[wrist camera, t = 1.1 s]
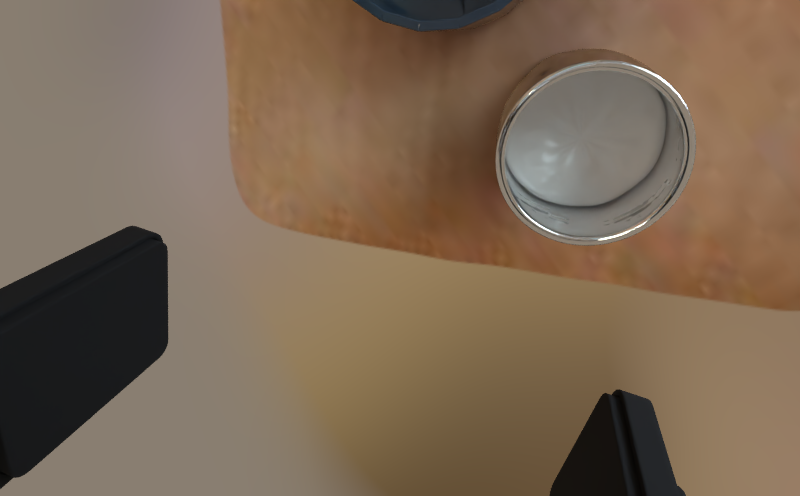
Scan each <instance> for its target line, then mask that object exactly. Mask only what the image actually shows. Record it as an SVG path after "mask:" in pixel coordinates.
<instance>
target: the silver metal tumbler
mask: <svg viewBox="0 0 800 496" xmlns="http://www.w3.org/2000/svg"><path fill="white" fill-rule="evenodd" d="M695 153H696V135H695V129H694V124H693V120H692V117H691V115H690V112H689V110H688V108H687V106H686V104H685V102H684V101H683V99H682V97H681V96H680V95H679V93H678V92H677V91H676V90H675V89H674V88H673V87H672V86H671V85H670V84H669V83H668V82H667V81H666V80H665V79H663V78H662V77H660V76H659V75H658V74H656V73H655V72H654V71H653V70H652V69H651V68H649V67H648V66H646V65H645V64H643V63H642V62H640V61H638V60H636V59H634V58H632V57H630V56H628V55H625V54H623V53H620V52H616V51H612V50H607V49H578V50H572V51H567V52H562V53H558V54H555V55H552V56H550V57H548V58H546V59H544V60H543V61H541V62H540V63H539V64H537V65H536V66H535V67H534V68H533V69H532V70H531V71H530V72H529V73H528V74H527V75H526V76H525V77H524V78H523V79H522V80H521V81H520V83H519V84H518V85H517V86H516V88H515V89H514V91H513V92H512V94H511V95H510V97H509V99H508V100H507V102H506V104H505V107H504V109H503V112H502V114H501V118H500V122H499V126H498V131H497V139H496V157H495V166H496V175H497V180H498V184H499V187H500V190H501V192H502V195H503V197H504V199H505V201H506V203H507V204H508V206H509V207H510V209H511V210H512V211H513V213H514V214H515V215H516V216H517V217H518V218H519V219H520V220H521V221H522V222H523V223H524V224H525V225H527V226H528V227H529V228H531V229H532V230H533V231H535V232H537V233H539V234H540V235H542V236H544V237H547V238H549V239H552V240H555V241H558V242H561V243H566V244H572V245H584V246H589V245H601V244H607V243H612V242H616V241H619V240H622V239H625V238H628V237H630V236H633V235H635V234H637V233H639V232H641V231H642V230H644V229H646V228H647V227H649V226H650V225H652V224H653V223H655V222H656V221H657V220H658V219H660V218H661V217H662V216H663V215H664V214H665V213H666V212H667V211H668V210H669V209H670V208H671V207H672V206H673V204H674V203H675V202H676V201H677V199H678V198H679V196H680V195H681V193H682V192H683V190H684V188H685V186H686V184H687V182H688V180H689V177H690V175H691V172H692V169H693V165H694V160H695Z"/></svg>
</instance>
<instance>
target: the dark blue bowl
mask: <svg viewBox="0 0 800 496" xmlns="http://www.w3.org/2000/svg"><path fill="white" fill-rule="evenodd" d="M353 1H354V2H356V3H357V4H358V5H360V6H361V7H363V8H364V9H365V10H367V11H368V12H370V13H371V14H372V15H374V16H375V17H377V18H378V19H379V20H382V21H383V22H387V23H390V24H394V25H397V26H401V27H404V28H408V29H411V30H415V31H420V32H431V31H432V32H434V31H454V30H468V29H474V28H477V27H479V26H481V25H484V24H486V23H488V22H491V21H493V20H495V19H498V18H500V17H502V16H505V15H506V14H508V13H509V12H510V11H511V10H513V9H514V8H515V7H516V6H517V5H518V4H520V3H521V2H522V1H523V0H353Z"/></svg>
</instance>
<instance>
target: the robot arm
mask: <svg viewBox="0 0 800 496" xmlns="http://www.w3.org/2000/svg"><path fill="white" fill-rule="evenodd" d="M167 253H168V251H167V246H166V244H164V243H163V240H162V238H161V236H160V235H159V234H157V233H154V232H151V231H148V230H145V229H142V228H139V227H136V226H129V227H126V228H125V229H122V230H120V231H118V232H116V233H114V234H112V235H110V236H108V237H106V238H104V239H102V240H100V241H98V242H96V243H93V244H91V245H89V246H87V247H85V248H83V249H81V250H79V251H77V252H75V253H73V254H71V255H69V256H67V257H65V258H63V259H61V260H58V261H56V262H54V263H52V264H50V265H48V266H46V267H44V268H42V269H40V270H38V271H36V272H34V273H32V274H30V275H28V276H26V277H24V278H21V279H19V280H17V281H15V282H13V283H11V284H9V285H7V286H5V287H3V288H1V289H0V489H1V488H2V487H3V486H4V485H5V484H7V483H8V482H9V481H10V480H11V479H12V478H14V477H15V478H16V477H21V476H23V475H25V474H26V473H27V472H29V471H30V470H31V469H32V468H33V467H35V466H36V465H37V464H38V463H39V462H40V461H42V460H43V459H44V458H45V457H46V456H47V455H48V454H50V453H51V452H52V451H53V450H54V449H55V448H56V447H58V446H59V445H60V444H61V443H62V442H63V441H64V440H66V438H68V437H69V436H70V435H71V434H72V433H74V432H75V431H76V430H77V429H78V428H79V427H80V426H82V425H83V424H84V423H85V422H86V421H87V420H88V419H90V418H91V417H92V416H93V415H94V414H95V413H97V411H99V410H100V409H101V408H102V407H103V406H105V404H107V403H108V402H109V401H110V400H111V399H113V398H114V397H115V396H116V395H117V394H118V393H119V392H121V391H122V390H123V389H124V388H125V387H126V386H127V385H129V384H130V383H131V382H132V381H133V380H134V379H135V378H137V377H138V376H139V375H140V374H141V373H142V372H144V370H146V369H147V368H148V367H149V366H150V365H151V364H153V363H154V362H155V361H156V360H157V359H158V358H160V356H161V355H162V354H163V353H164V351H165V349H166V347H167V344H168V254H167ZM550 496H686V495H685V493H684V491H683V490H682V489H681V488H680V487H679V486H677V484H676V481H675V477H674V474H673V471H672V467H671V464H670V461H669V458H668V454H667V451H666V448H665V444H664V441H663V438H662V434H661V431H660V428H659V424H658V421H657V418H656V415H655V411H654V408H653V405H652V403H651V401H650V400H648V399H646V398H643V397H640V396H637V395H634V394H631V393H628V392H625V391H622V390H616V391H614V392H613V394H612V395H610V394H607V393H604V394H603V395H602V396H601V398H600V399H599V401H598V403H597V404H596V406H595V408H594V410H593V412H592V414H591V415H590V417H589V419H588V421H587V423H586V425H585V426H584V428H583V430H582V432H581V434H580V435H579V437H578V439H577V441H576V443H575V445H574V446H573V448H572V450H571V452H570V454H569V455H568V457H567V459H566V461H565V463H564V464H563V466H562V468H561V470H560V472H559V474H558V475H557V477H556V479H555V481H554V483H553V485H552V488H551V491H550Z"/></svg>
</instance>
